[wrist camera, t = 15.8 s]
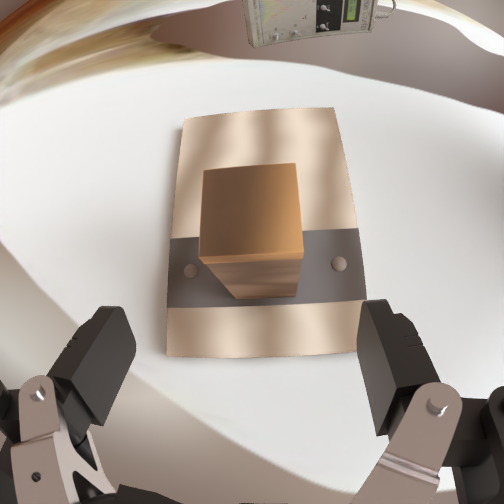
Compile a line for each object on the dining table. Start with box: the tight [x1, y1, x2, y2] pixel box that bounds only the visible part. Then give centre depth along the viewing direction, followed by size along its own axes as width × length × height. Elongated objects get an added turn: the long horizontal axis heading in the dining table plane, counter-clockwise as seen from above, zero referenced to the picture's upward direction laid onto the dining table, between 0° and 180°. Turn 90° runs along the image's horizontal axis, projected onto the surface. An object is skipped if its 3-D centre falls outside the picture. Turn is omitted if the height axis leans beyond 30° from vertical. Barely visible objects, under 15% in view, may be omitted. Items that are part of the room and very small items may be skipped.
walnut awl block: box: [199, 163, 304, 299], centre depth 20 cm, size 5×5×11 cm
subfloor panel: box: [167, 108, 367, 358], centre depth 27 cm, size 16×24×2 cm, turn 1°
